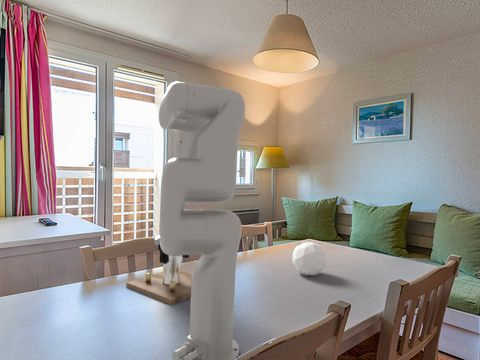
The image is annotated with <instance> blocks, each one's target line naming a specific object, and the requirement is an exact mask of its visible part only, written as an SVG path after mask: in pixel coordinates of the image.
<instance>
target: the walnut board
mask: <svg viewBox="0 0 480 360" xmlns="http://www.w3.org/2000/svg"><path fill="white" fill-rule="evenodd" d="M163 275H164V270H163V271H160V272H157V273H154V274H152V272H146V273H145V276H143V277H140V278H137V279H134V280H130V281H126V284H125V285H126V286H125V287H126V288H128V289H130V290H133V291H135V292H137V293H140V294H143V295H145V296H148V297H150V298H152V299H155V300H158V301H159V302H161V303H165V304H167V305H169V306H172V305H174V304H177V303H180V302H182V301H184V300H186V299H190V298H191V280H192V272H190V271H187V270H184V269H182V268H180V283H179V284H178V285H176V281H170V286H168V285H164V284H163V283H162V280H163Z"/></svg>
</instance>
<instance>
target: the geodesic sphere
mask: <svg viewBox="0 0 480 360" xmlns="http://www.w3.org/2000/svg"><path fill="white" fill-rule="evenodd" d="M291 256H292V265H293V266H294V267H295V269H296V270H297V272H299V273H300V274H302V275H304V274H305V275H310V276H316V275H318V274H319V273H321V272H323V271H324V268H325V266H326V263H327V261H326V252H325V250H324V249H323V248H322V246H321V245H320V244H318V243H316V242H314V241H311V240H307V242H305V241H298V242H297V245H296V246H295V248H294V250H293V253H292V255H291ZM305 275H304V276H305Z"/></svg>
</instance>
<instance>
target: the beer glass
mask: <svg viewBox="0 0 480 360" xmlns="http://www.w3.org/2000/svg"><path fill="white" fill-rule="evenodd" d="M182 256H183V255H181V256H170V255H168V263H167V264H164V263H162V265H163V271H164V275H163V280H162V283H163V284H164V285H168V286H170V281H176V285H178V284H179V283H180V269H181V264H182V261H183V257H182Z"/></svg>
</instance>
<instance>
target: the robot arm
mask: <svg viewBox="0 0 480 360" xmlns="http://www.w3.org/2000/svg"><path fill="white" fill-rule="evenodd" d="M245 104H246V103H245V100H244V97H243V96H242V94H241V93H240V92H239V91H236V90H234V89H230V88H225V87H219V86H214V85H207V84H198V83H191V82H185V81H184V82H183V81H174V82H172V83H170V84H169V85H168V87H167V89H166V91H165V93H164V95H163V97H162V100H161V102H160V106H159V111H158V121H159V122H158V123H159V126H160V127H161V128H162V129H163V130H167V131H176V132H178V136H177V140H176V145H175V150H176V154H177V155H178V156H179V157H173V158H171V159H169V160H167V161H166V163H165V164H164V168H162V169H163V170H162V174H161V183H160V202H159V203H160V206H159V208H160V209H159V226H158V228H159V230H158V231H159V233H158V235H157V236H156V237H155V238H154V239H153V242H154V245H155V247H156V249H157V251H159V263H161V264H163V263H164V264H167V263H168V255H170V256H181V255H183V256H182V258H184V259H189V257H190V256H192V255H193V256H194V255H201V256H200V257H199V259H198V260H197V261H196V263H195V265H194V266H193V269H192V272H191V273H192V280H191V297H190V311H189V313H190V314H189V335H186V336H185V342H183V344H182V346H181V347H179V348H178V349H176V350H174V351H172V358H173V360H182V359H183V360H234V359H235V358H237V357H238V358H239V355H240V346H239V343H238V342H237V341H236V340H235V339H234V338H233V336H234V319H235V318H234V316H235V315H234V312H235V293H236V292H235V291H236V289H235V287H236V271H237V270H236V269H237V258H238V253H239V248H240V243H241V239H242V234H243V233H242V232H243V229H242V228H243V226H242V222H241V219H240V217H239V216H238V215H237V214H236V213H235V212H233V211H231V210H229V209H225V208H224V209H223V208H199V209H197V208H196V209H195V208H193V209H192V208H191V209H188V206H189V205H188V204H212V203H213V204H217V203H226V202H229V201H231V200H232V199H233V198H234V196H235V192H236V188H237V173H238V171H237V170H238V145H239V144H238V143H239V141H238V140H239V136H240V134H241V133H240V132H241V129H242V126H243V124H244V120H245V114H246V105H245ZM238 358H237V359H238Z"/></svg>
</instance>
